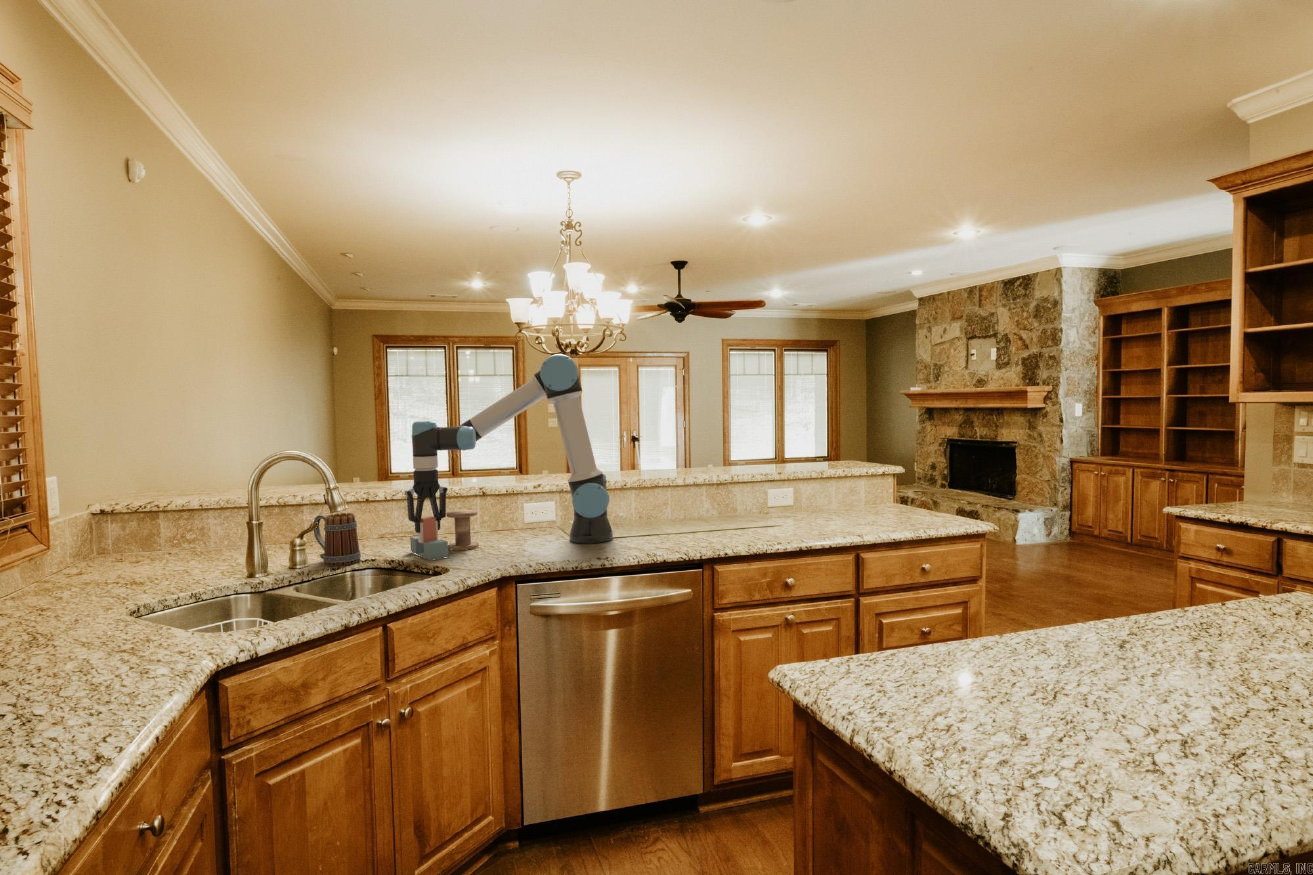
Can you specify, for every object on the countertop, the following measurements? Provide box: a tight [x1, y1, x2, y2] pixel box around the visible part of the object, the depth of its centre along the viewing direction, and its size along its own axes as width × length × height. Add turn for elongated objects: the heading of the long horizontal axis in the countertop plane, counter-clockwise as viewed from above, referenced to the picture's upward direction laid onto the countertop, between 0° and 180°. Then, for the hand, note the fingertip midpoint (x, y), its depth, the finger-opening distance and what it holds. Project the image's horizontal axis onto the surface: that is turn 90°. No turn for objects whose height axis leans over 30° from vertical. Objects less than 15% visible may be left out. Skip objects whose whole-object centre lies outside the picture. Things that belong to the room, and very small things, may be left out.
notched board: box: [409, 535, 449, 561], centre depth 219 cm, size 16×6×5 cm, turn 40°
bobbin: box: [446, 509, 479, 551], centre depth 229 cm, size 10×10×12 cm
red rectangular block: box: [421, 515, 436, 544], centre depth 219 cm, size 4×4×8 cm
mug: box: [312, 512, 362, 567], centre depth 212 cm, size 16×11×15 cm
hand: (428, 541), depth 219 cm, fingers closed on red rectangular block, 4 cm apart
